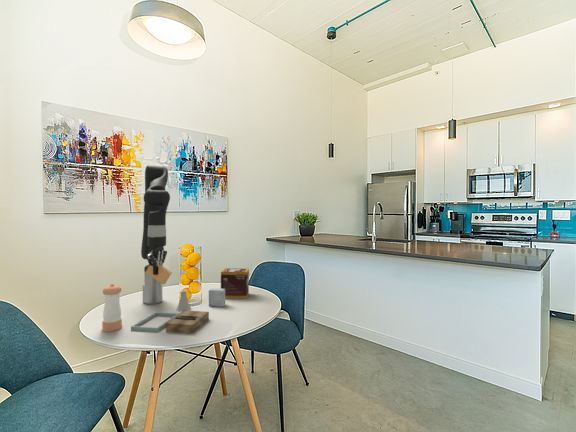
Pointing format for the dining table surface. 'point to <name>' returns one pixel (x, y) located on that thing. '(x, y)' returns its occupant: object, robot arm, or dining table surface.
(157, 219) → the robot arm
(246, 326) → the dining table surface
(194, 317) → the slotted wooden block
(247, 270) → the supplement box
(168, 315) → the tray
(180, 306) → the flask
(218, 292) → the grey cube
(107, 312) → the pepper shaker
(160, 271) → the tan rectangular block
